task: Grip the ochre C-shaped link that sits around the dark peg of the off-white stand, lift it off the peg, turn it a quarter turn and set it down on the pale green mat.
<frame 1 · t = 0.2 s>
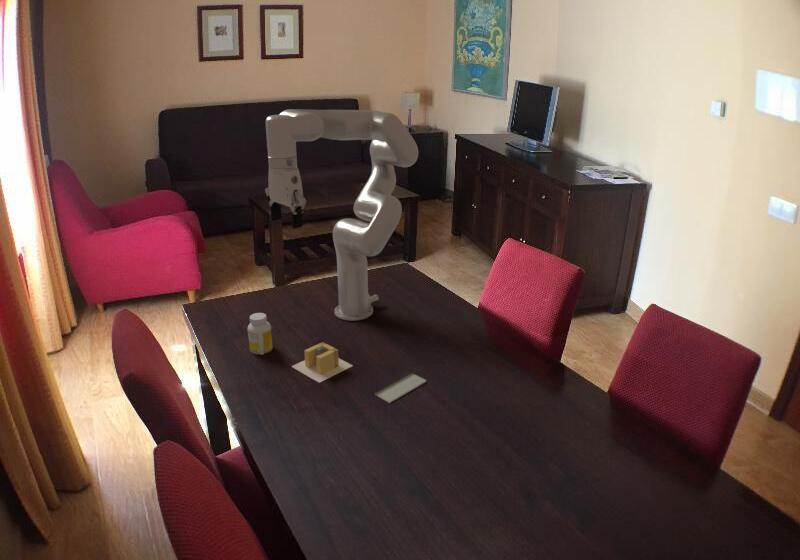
hand: (286, 223, 179), 36 cm above the table, tool pointing down, fingers open, 9 cm apart
mat: (389, 382, 171), on the table
c link: (322, 366, 176), point 1 cm above the table, touching stand
pill bottle: (261, 352, 186), on the table
stand: (322, 369, 177), on the table
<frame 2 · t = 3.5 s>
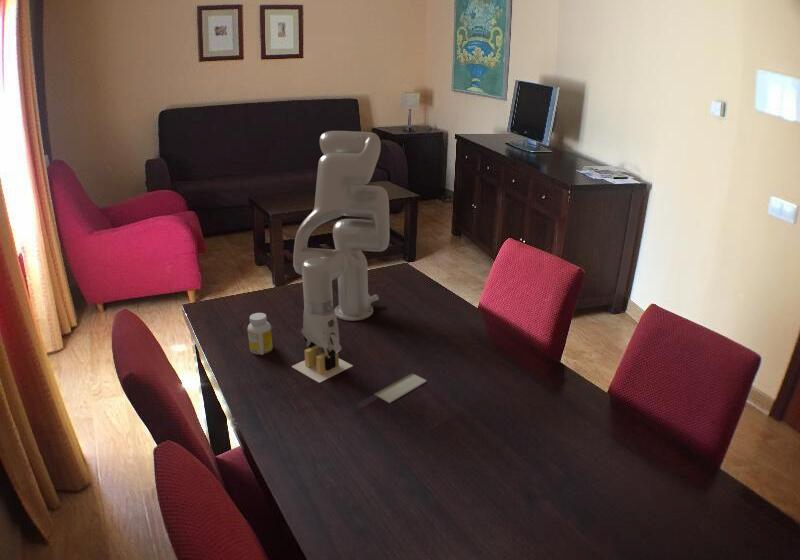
hand: (321, 363, 176), 2 cm above the table, tool pointing down, fingers closed on c link, 6 cm apart
c link: (322, 366, 176), point 1 cm above the table, touching gripper, stand
everything else where it was.
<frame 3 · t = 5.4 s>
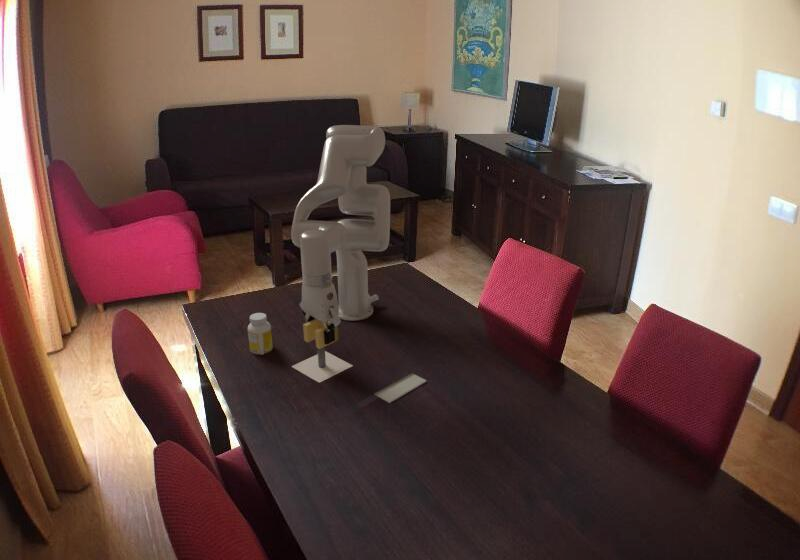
hand: (321, 337, 173), 10 cm above the table, tool pointing down, fingers closed on c link, 6 cm apart
c link: (321, 340, 174), point 9 cm above the table, touching gripper
everything else where it was.
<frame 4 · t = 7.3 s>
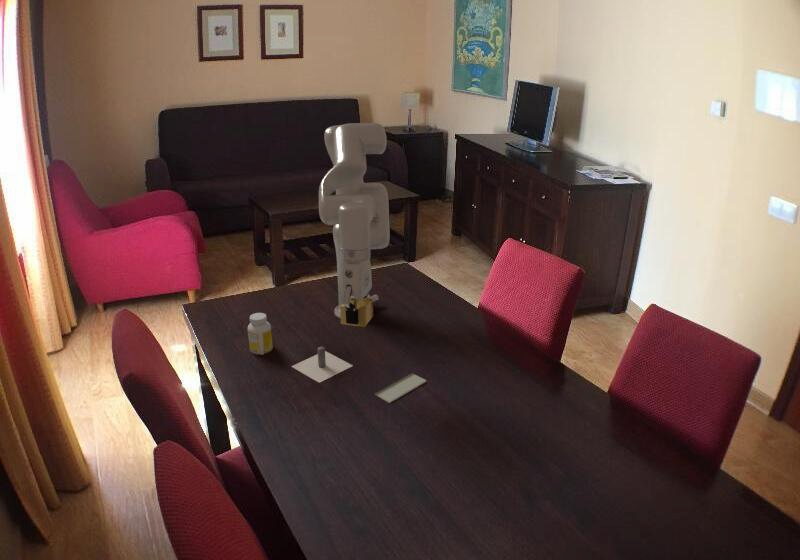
hand: (357, 317, 166), 18 cm above the table, tool pointing down, fingers closed on c link, 6 cm apart
c link: (357, 320, 166), point 17 cm above the table, touching gripper
everything else where it was.
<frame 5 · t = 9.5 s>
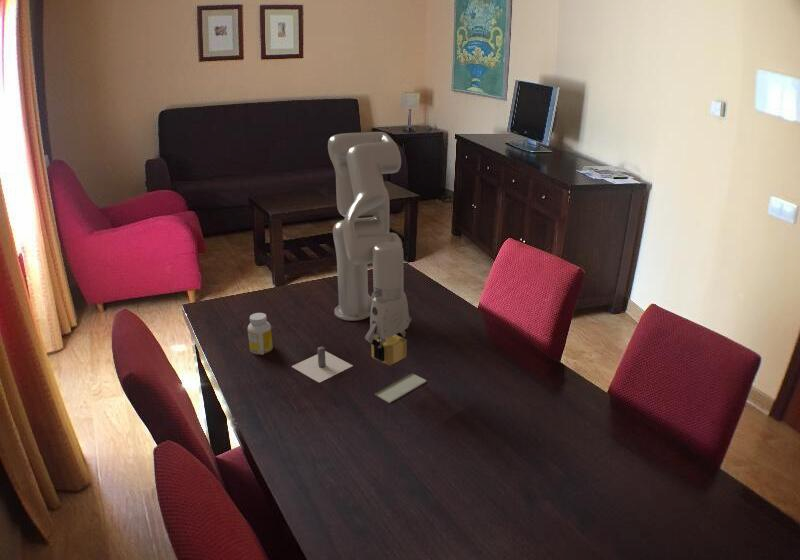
hand: (389, 353, 167), 9 cm above the table, tool pointing down, fingers closed on c link, 6 cm apart
c link: (389, 356, 167), point 8 cm above the table, touching gripper
everything else where it was.
when the fingers open (3 cm above the table, at t = 11.1 s): c link drops 1 cm, resting on mat.
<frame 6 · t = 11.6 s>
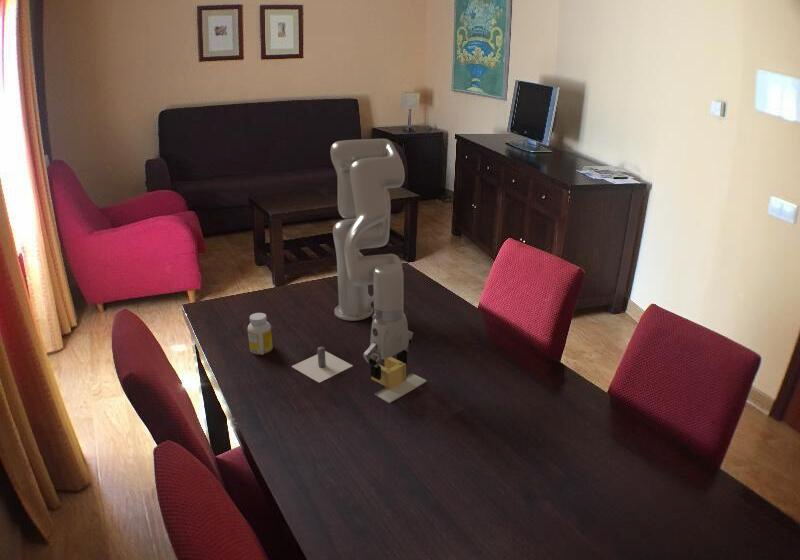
hand: (389, 370, 169), 4 cm above the table, tool pointing down, fingers open, 9 cm apart
c link: (388, 380, 171), resting on mat
everything else where it was.
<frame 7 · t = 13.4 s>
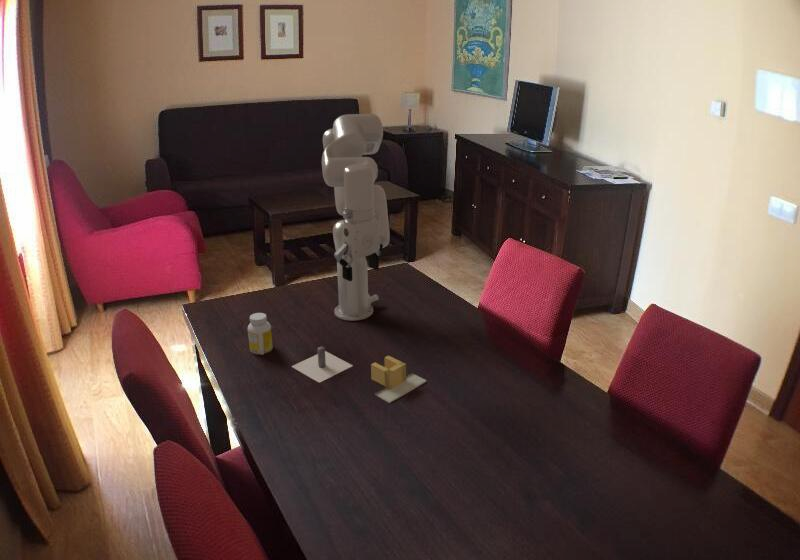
hand: (360, 273, 172), 26 cm above the table, tool pointing down, fingers open, 9 cm apart
nothing on the table moved.
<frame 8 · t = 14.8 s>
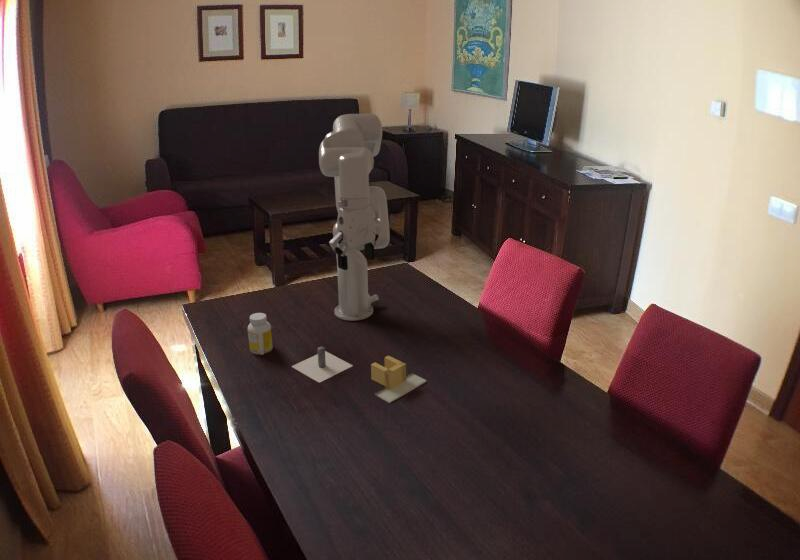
hand: (356, 263, 172), 28 cm above the table, tool pointing down, fingers open, 9 cm apart
nothing on the table moved.
at the end: c link inside the target area on the mat (0.2 cm from its centre), point 0.4 cm above the mat's base; the gripper is holding nothing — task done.
